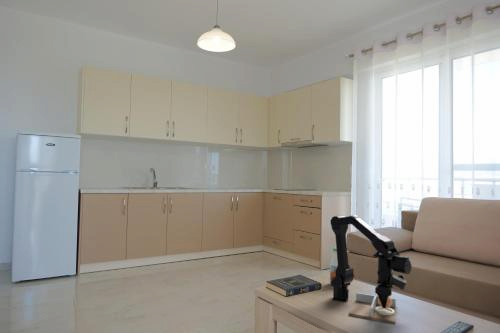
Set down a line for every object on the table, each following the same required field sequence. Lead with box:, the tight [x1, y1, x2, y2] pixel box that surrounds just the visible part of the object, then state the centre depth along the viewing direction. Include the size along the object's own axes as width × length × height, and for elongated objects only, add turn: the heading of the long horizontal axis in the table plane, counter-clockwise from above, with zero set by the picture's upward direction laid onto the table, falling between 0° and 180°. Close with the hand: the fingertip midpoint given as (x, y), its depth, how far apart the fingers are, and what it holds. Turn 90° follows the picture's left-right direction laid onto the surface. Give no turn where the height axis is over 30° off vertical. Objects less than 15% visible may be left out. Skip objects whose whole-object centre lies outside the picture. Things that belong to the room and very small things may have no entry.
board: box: [348, 292, 398, 325], centre depth 148 cm, size 18×18×4 cm
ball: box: [378, 296, 392, 308], centre depth 146 cm, size 6×6×6 cm
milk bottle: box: [329, 246, 338, 285], centre depth 187 cm, size 8×8×20 cm
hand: (384, 305), depth 146 cm, fingers closed on ball, 5 cm apart
